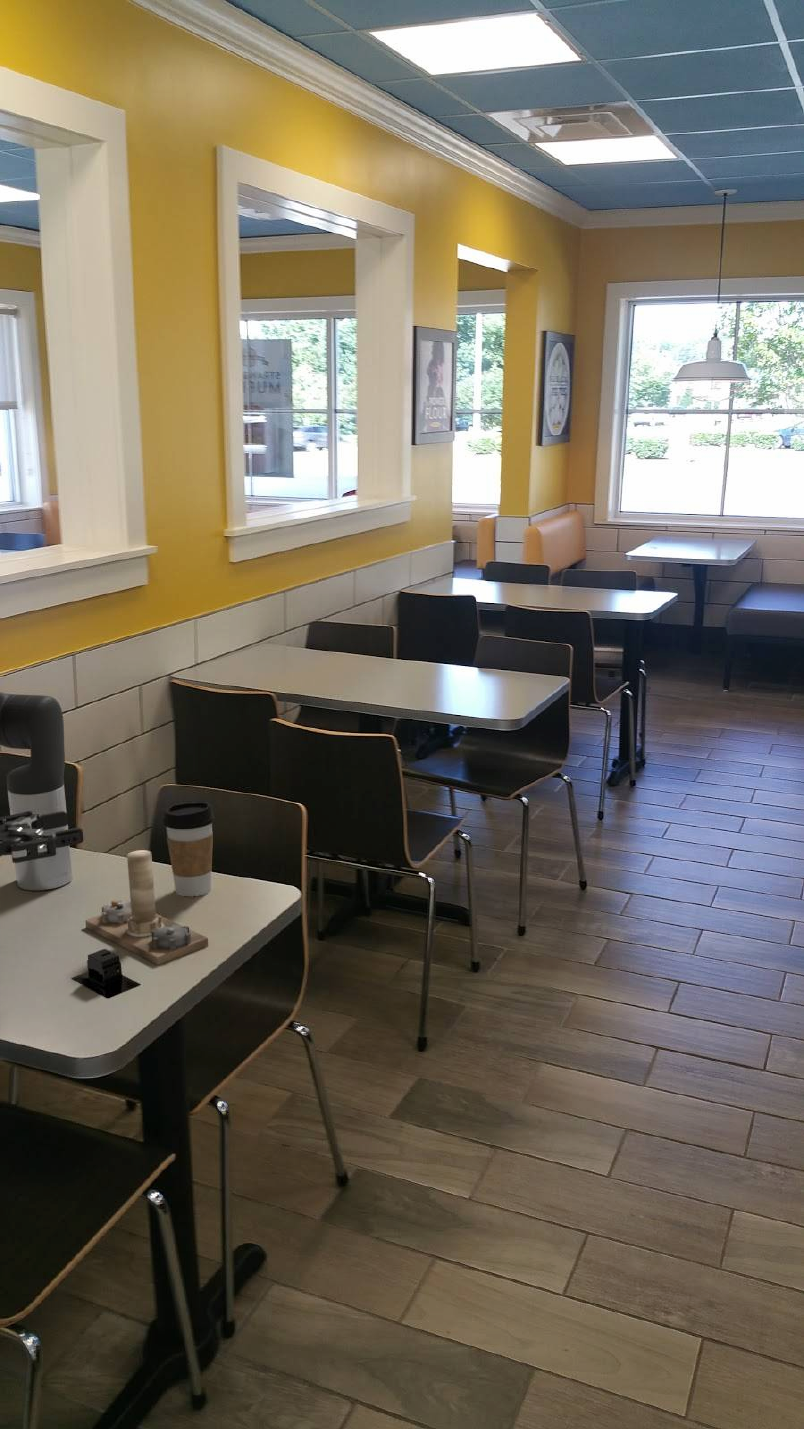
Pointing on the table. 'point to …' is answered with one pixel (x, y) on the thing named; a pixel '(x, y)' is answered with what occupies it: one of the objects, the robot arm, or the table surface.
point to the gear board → (151, 946)
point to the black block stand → (105, 975)
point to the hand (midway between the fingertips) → (74, 826)
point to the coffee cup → (190, 846)
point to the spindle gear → (142, 893)
